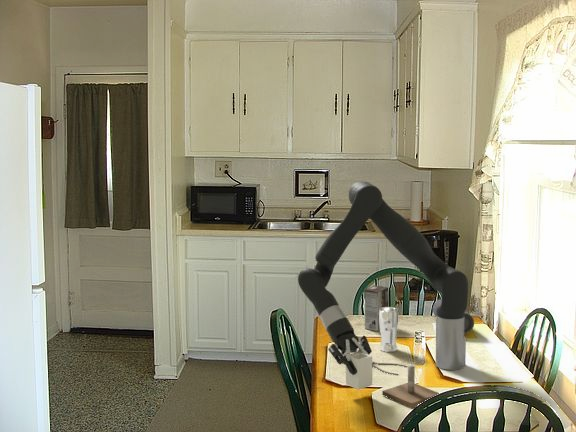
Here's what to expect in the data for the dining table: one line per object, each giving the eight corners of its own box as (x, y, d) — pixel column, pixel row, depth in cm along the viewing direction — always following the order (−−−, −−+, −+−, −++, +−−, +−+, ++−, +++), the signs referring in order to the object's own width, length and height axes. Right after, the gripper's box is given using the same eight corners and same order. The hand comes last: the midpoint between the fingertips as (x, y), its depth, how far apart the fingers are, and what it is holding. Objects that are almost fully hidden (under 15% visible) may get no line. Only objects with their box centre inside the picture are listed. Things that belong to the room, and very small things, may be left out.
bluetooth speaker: (475, 336, 266) (476, 311, 264) (452, 338, 264) (452, 312, 263) (452, 320, 288) (453, 296, 287) (431, 321, 286) (431, 298, 285)
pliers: (402, 374, 225) (344, 366, 233) (402, 377, 225) (344, 369, 233) (409, 365, 234) (353, 357, 242) (409, 367, 234) (353, 360, 242)
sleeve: (359, 379, 212) (359, 351, 211) (372, 385, 208) (372, 356, 206) (345, 384, 209) (345, 355, 208) (358, 389, 204) (358, 360, 203)
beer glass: (401, 349, 252) (402, 308, 250) (390, 353, 247) (391, 312, 245) (386, 345, 257) (386, 305, 255) (374, 349, 252) (375, 309, 250)
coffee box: (375, 323, 285) (375, 284, 283) (389, 325, 281) (389, 286, 279) (364, 328, 278) (364, 289, 276) (378, 331, 274) (378, 291, 272)
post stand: (410, 386, 216) (410, 357, 215) (439, 398, 206) (440, 367, 205) (382, 395, 209) (382, 365, 208) (411, 408, 199) (411, 376, 198)
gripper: (323, 321, 208) (350, 370, 200) (359, 312, 216) (386, 359, 208) (313, 334, 213) (339, 383, 205) (348, 325, 221) (374, 371, 213)
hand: (363, 371), depth 206 cm, fingers closed on sleeve, 5 cm apart
